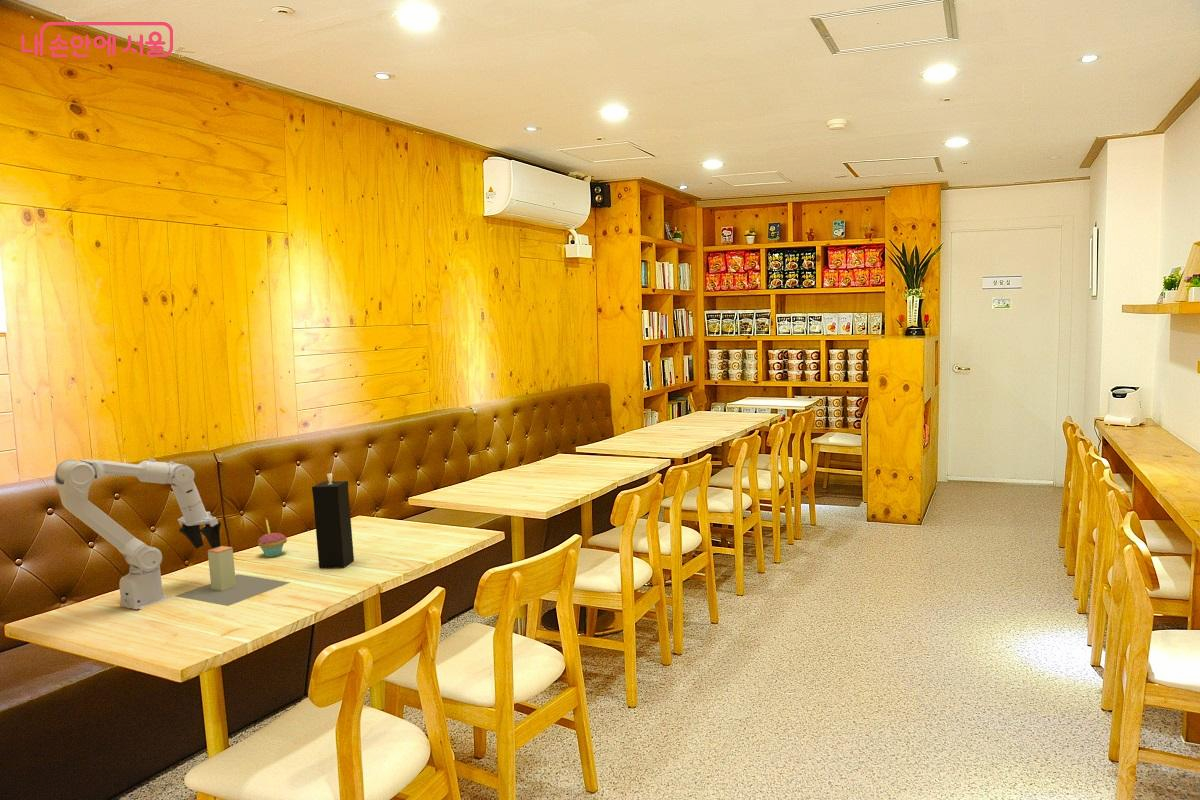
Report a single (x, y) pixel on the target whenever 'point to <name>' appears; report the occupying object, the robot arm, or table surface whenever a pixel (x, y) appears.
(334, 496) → the black pillar candle
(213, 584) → the sage block
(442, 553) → the table surface
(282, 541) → the cupcake
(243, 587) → the rubber mat
